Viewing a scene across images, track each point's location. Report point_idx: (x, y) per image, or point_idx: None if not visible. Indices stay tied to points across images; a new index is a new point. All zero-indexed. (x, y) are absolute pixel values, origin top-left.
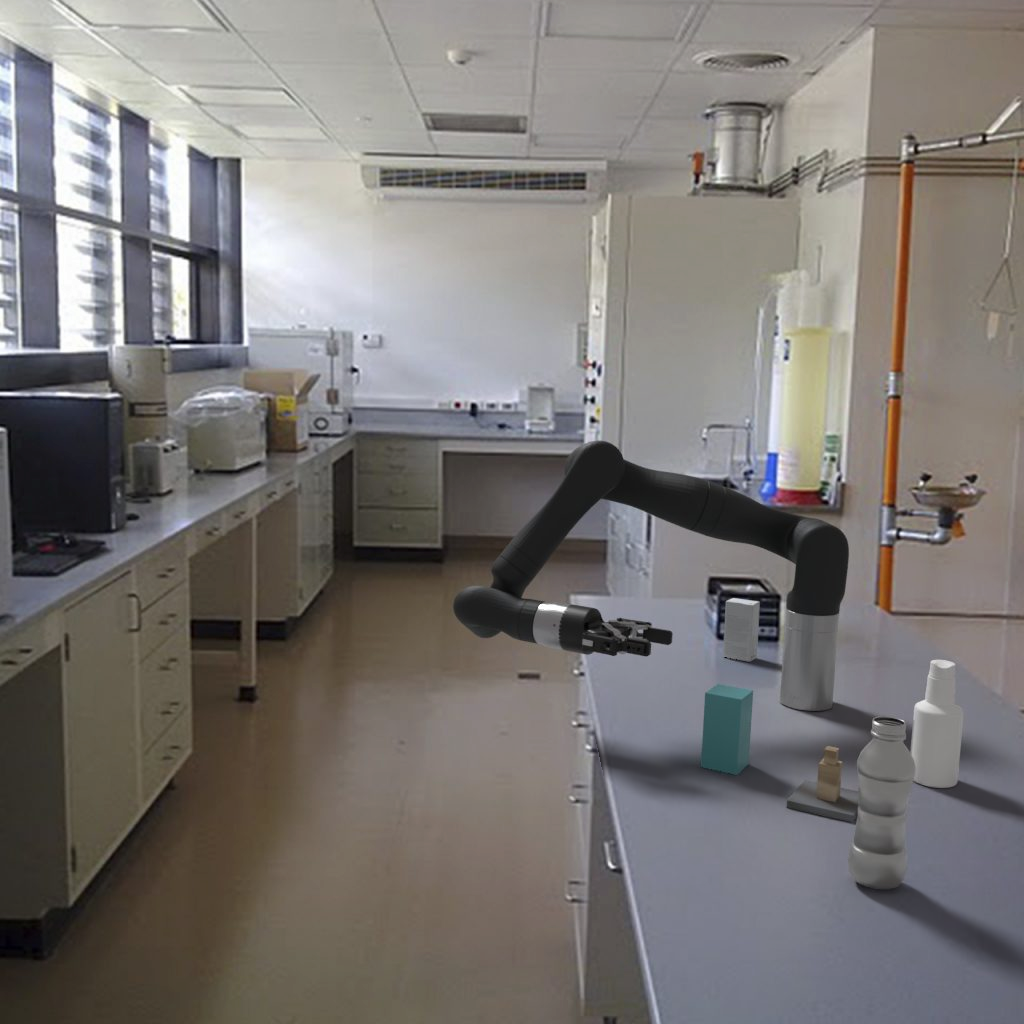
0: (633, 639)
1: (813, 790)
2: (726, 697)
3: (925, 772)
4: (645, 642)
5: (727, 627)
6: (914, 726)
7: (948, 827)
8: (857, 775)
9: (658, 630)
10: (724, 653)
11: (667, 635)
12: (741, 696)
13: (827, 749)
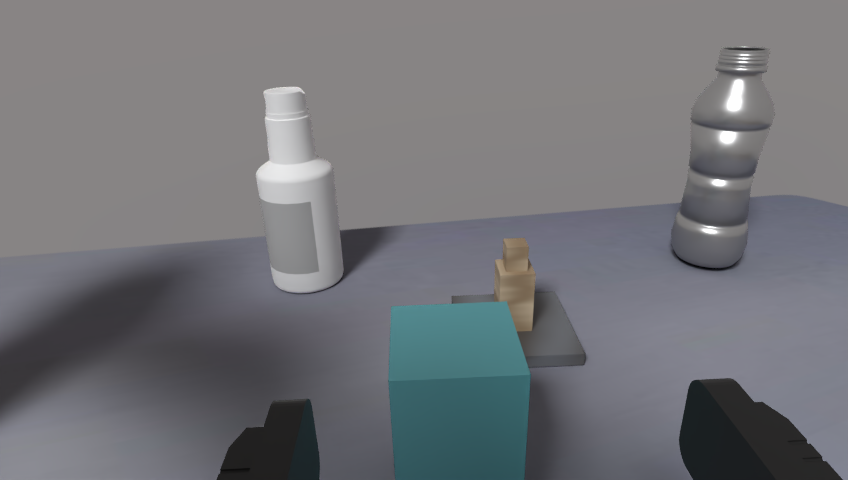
0: (799, 476)
1: None
2: (514, 329)
3: (340, 259)
4: (741, 393)
5: None
6: (312, 209)
7: (473, 249)
8: (757, 138)
9: (290, 475)
10: None
11: (309, 433)
12: (478, 307)
13: (525, 244)
